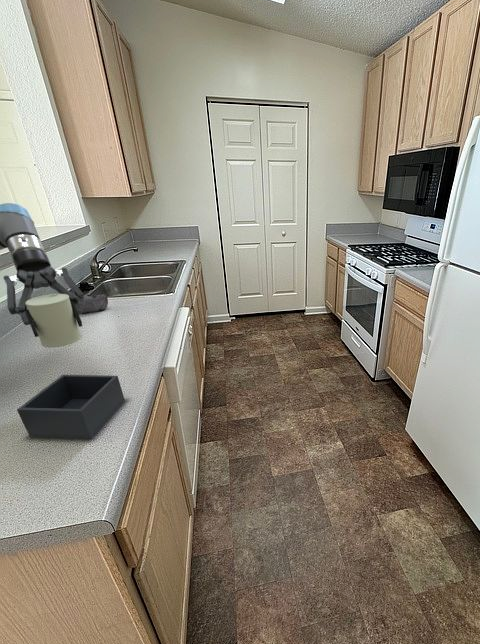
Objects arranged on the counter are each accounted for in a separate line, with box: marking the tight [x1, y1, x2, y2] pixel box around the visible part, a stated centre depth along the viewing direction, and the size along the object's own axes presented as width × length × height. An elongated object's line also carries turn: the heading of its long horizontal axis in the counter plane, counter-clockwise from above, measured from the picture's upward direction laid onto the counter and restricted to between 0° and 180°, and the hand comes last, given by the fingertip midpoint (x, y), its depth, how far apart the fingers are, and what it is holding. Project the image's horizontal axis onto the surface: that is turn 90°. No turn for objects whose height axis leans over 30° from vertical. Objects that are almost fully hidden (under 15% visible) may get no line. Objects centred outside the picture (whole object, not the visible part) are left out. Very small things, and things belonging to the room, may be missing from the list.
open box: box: [16, 374, 126, 440], centre depth 80 cm, size 15×15×8 cm
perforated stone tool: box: [79, 293, 109, 314], centre depth 148 cm, size 15×5×7 cm, turn 119°
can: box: [25, 293, 83, 349], centre depth 86 cm, size 9×9×12 cm
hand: (58, 329), depth 85 cm, fingers closed on can, 9 cm apart
